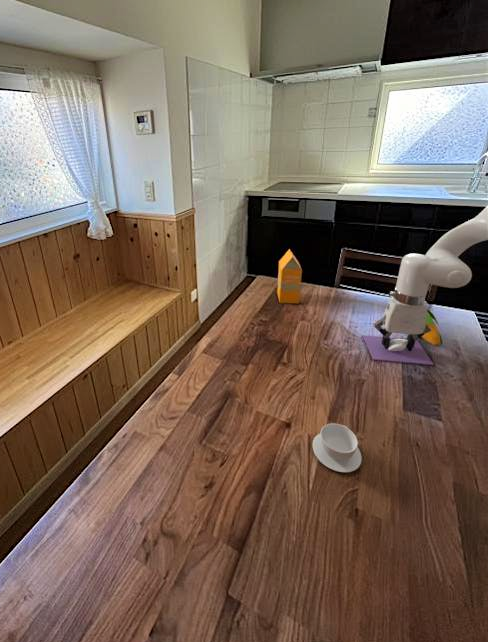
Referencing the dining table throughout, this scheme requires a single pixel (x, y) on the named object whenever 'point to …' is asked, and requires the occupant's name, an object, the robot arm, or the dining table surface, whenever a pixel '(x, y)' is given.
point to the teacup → (337, 448)
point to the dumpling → (397, 345)
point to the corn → (432, 331)
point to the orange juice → (289, 279)
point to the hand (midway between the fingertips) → (396, 347)
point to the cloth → (396, 352)
